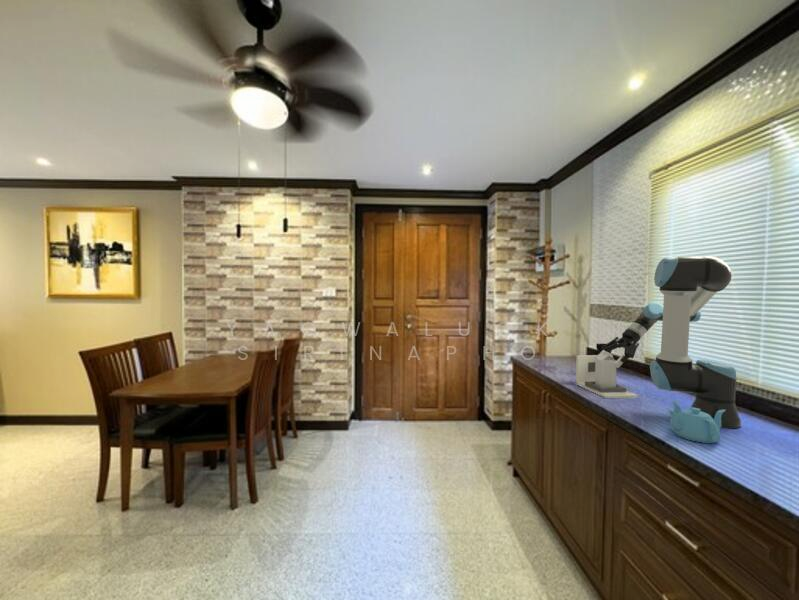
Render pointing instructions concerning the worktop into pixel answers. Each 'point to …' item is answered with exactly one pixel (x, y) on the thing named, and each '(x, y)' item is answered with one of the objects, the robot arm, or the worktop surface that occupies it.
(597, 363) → the milk carton
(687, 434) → the teapot
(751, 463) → the worktop surface
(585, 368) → the dock
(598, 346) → the flashlight
